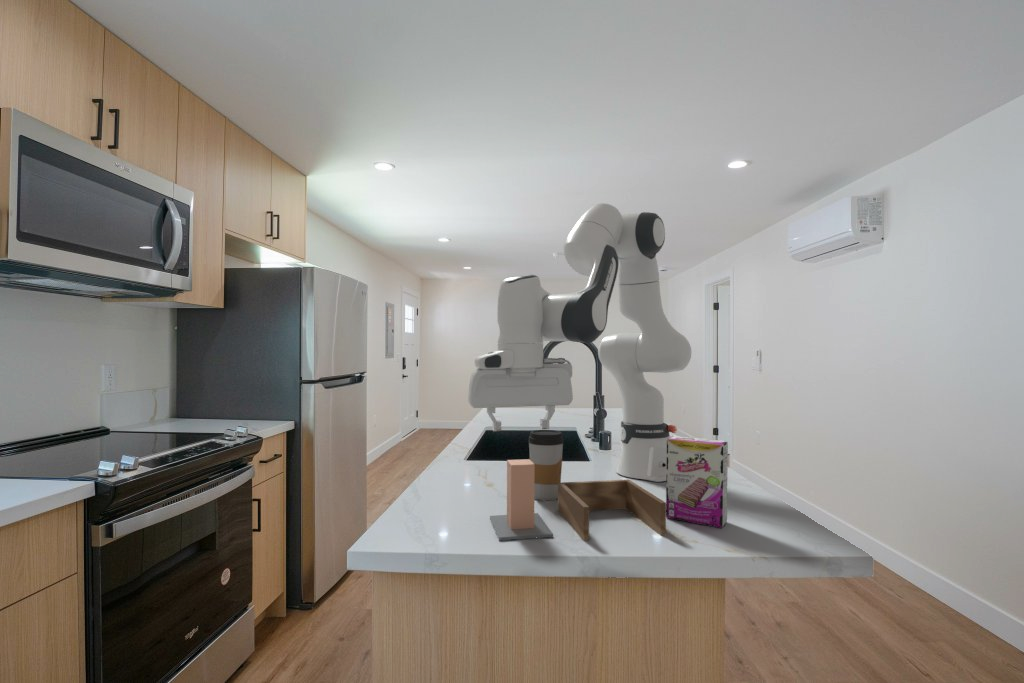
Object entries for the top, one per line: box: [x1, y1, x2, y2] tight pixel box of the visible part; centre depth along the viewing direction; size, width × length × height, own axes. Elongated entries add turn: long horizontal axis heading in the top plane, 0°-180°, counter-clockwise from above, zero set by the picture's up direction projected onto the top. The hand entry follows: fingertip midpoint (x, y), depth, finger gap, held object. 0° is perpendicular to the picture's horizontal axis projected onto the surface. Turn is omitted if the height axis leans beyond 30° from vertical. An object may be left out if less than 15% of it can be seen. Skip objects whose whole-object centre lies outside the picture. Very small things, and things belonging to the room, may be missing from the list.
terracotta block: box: [506, 458, 535, 529], centre depth 100 cm, size 4×4×12 cm
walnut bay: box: [557, 479, 667, 541], centre depth 103 cm, size 16×17×6 cm
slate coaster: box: [489, 512, 554, 541], centre depth 100 cm, size 10×12×1 cm
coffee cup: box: [528, 429, 564, 501], centre depth 120 cm, size 8×8×15 cm
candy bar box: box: [665, 435, 729, 529], centre depth 104 cm, size 11×5×16 cm, turn 58°
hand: (521, 429), depth 100 cm, fingers open, 8 cm apart
